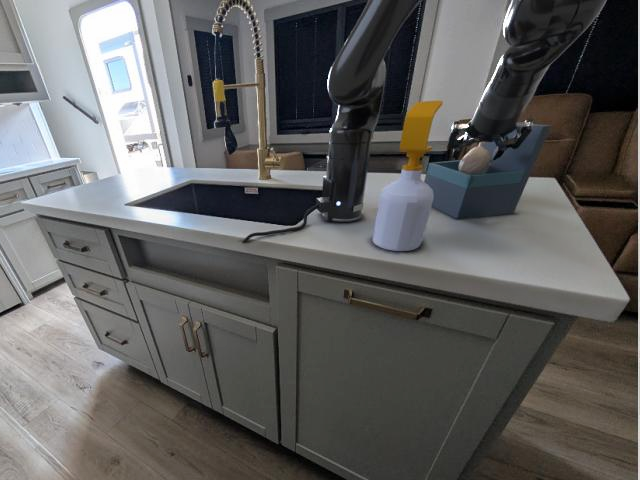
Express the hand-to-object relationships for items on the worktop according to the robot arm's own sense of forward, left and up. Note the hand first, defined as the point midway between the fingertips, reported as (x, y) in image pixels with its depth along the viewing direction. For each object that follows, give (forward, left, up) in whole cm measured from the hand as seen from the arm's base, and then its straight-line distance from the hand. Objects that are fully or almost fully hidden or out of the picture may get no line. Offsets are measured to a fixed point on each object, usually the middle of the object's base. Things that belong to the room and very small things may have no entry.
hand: (474, 156), depth 73 cm
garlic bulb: (-1, -1, -5) cm, 5 cm away
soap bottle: (-26, -18, -12) cm, 34 cm away
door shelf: (-1, -1, -11) cm, 11 cm away
